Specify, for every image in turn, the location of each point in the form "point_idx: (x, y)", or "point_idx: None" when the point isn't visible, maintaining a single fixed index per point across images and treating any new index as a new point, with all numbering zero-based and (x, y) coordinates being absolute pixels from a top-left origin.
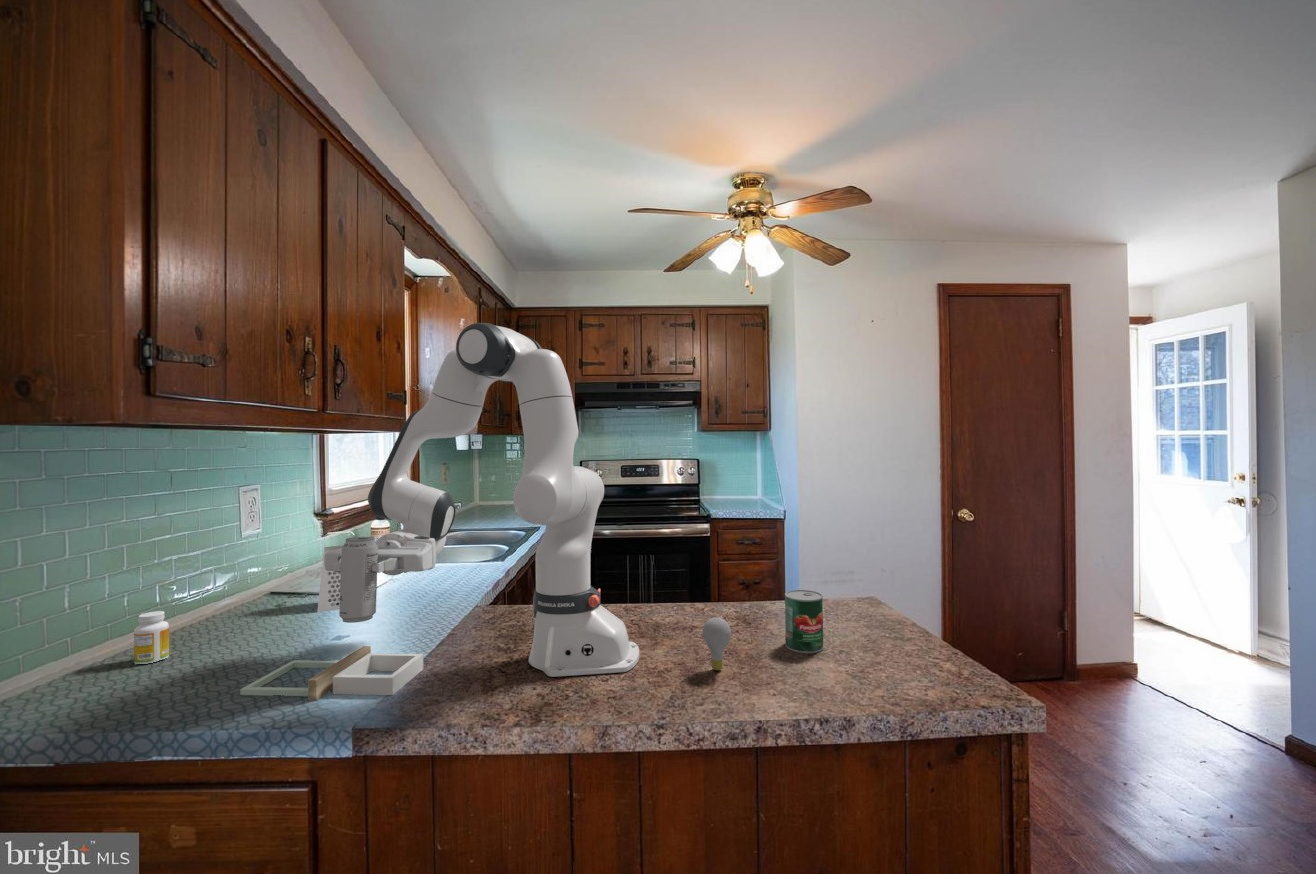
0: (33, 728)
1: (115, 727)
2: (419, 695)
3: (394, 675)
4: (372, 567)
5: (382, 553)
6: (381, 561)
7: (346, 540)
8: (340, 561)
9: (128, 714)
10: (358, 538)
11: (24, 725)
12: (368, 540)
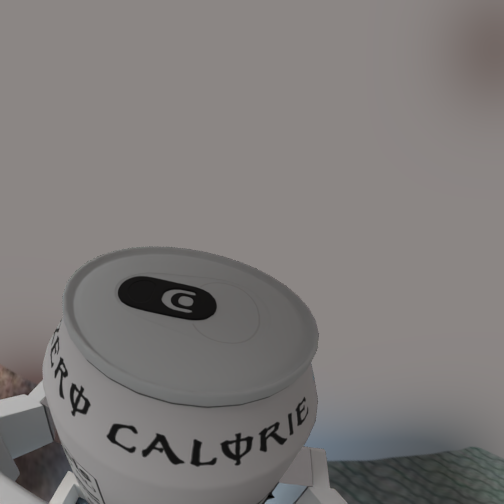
0: (472, 452)
1: (413, 460)
2: (32, 463)
3: (65, 479)
4: None
5: (24, 500)
6: (40, 403)
7: (271, 284)
8: (317, 478)
9: (433, 481)
10: (212, 308)
11: (483, 454)
12: (112, 262)
